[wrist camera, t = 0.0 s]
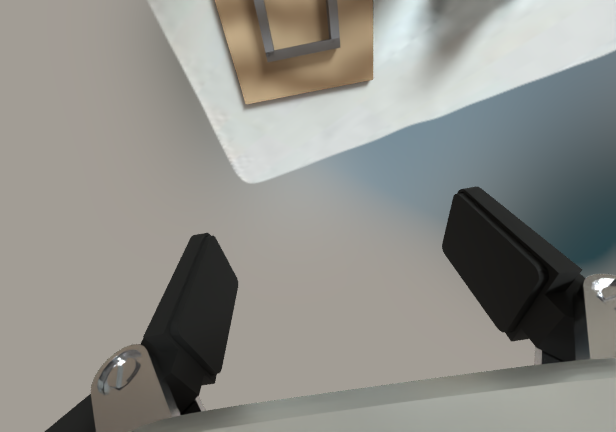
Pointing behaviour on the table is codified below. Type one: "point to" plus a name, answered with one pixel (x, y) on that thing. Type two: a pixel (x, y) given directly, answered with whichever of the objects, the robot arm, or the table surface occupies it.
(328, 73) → the end holder
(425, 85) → the table surface
